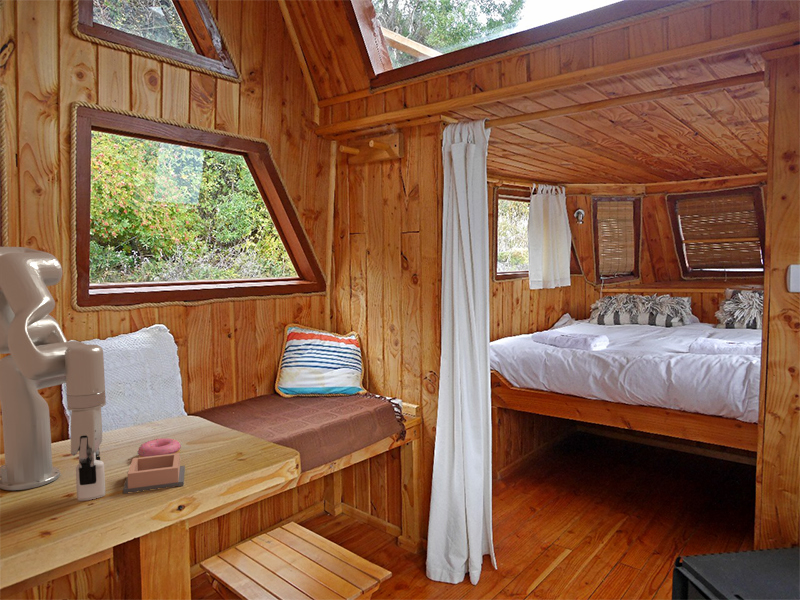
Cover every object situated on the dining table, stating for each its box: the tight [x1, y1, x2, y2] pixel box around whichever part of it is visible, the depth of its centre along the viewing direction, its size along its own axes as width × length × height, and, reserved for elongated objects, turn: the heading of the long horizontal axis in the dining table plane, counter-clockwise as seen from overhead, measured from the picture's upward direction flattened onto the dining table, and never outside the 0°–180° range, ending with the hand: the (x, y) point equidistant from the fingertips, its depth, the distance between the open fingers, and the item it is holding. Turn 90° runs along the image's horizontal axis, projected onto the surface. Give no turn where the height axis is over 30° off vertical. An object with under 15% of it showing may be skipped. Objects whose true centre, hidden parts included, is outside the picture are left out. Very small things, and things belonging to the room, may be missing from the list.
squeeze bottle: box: [75, 450, 106, 502], centre depth 126 cm, size 4×6×12 cm
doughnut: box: [137, 437, 182, 458], centre depth 153 cm, size 11×11×4 cm
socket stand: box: [122, 452, 186, 494], centre depth 136 cm, size 13×11×4 cm
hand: (90, 478), depth 127 cm, fingers open, 5 cm apart
